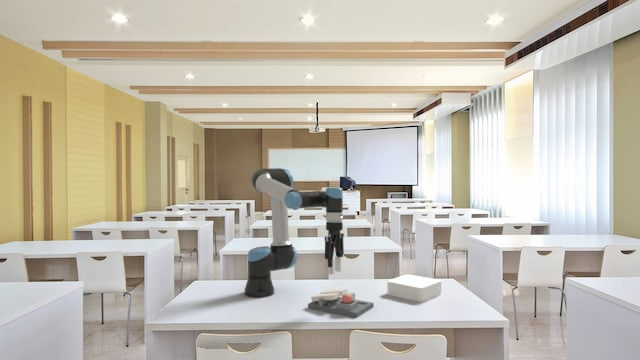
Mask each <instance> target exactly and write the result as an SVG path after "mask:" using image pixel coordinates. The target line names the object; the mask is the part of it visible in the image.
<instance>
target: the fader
mask: <svg viewBox="0 0 640 360" xmlns="http://www.w3.org/2000/svg"><path fill="white" fill-rule="evenodd" d="M348 294H351V295H352V300H356V293H355V292H349V293H348Z"/></svg>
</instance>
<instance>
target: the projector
mask: <svg viewBox="0 0 640 360" xmlns="http://www.w3.org/2000/svg"><path fill="white" fill-rule="evenodd" d="M386 282H387V283H386V284H387V285H386V286H387V287H386V288H387V292H386V294H387V295H389V296H393V297H397V298H401V299H406V300H410V301H414V302H419V303H421V302H426V301H428V300H431V299H433V298H437V296H441V295H442V280H441V279H437V278H432V277H427V276H421V275H420V276H419V275H415V274H409V273H408V274H403V275H400V276H397V277H395V278H390V279H388V280H387V281H386Z"/></svg>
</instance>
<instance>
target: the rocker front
mask: <svg viewBox="0 0 640 360" xmlns="http://www.w3.org/2000/svg"><path fill="white" fill-rule="evenodd" d="M338 297H339V293H327V294H320V293H318V294H314V295H312V296H311V297H310V299H311V302H313V301H319V298H321V299H324V300H334V299H336V298H338Z"/></svg>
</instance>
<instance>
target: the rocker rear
mask: <svg viewBox="0 0 640 360" xmlns="http://www.w3.org/2000/svg"><path fill="white" fill-rule="evenodd" d="M327 293H339V296H340V297H342V295H343V294H349V293H348V289H347V288H338V289H328V290H327V289H326V290H324V291H321V292H320V293H319V294H327Z"/></svg>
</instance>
